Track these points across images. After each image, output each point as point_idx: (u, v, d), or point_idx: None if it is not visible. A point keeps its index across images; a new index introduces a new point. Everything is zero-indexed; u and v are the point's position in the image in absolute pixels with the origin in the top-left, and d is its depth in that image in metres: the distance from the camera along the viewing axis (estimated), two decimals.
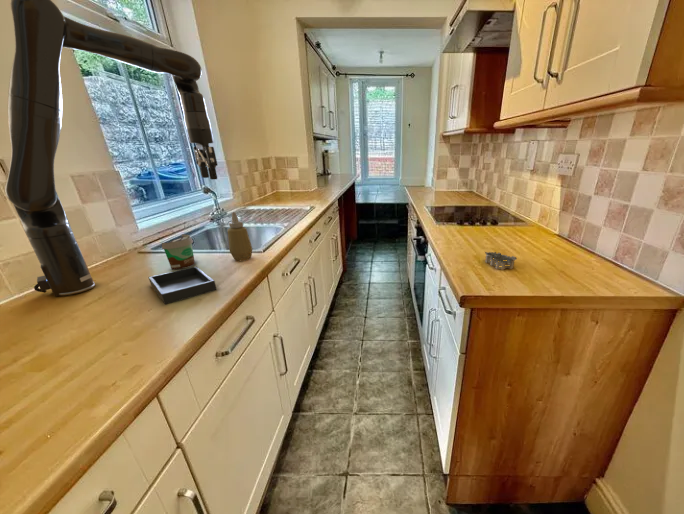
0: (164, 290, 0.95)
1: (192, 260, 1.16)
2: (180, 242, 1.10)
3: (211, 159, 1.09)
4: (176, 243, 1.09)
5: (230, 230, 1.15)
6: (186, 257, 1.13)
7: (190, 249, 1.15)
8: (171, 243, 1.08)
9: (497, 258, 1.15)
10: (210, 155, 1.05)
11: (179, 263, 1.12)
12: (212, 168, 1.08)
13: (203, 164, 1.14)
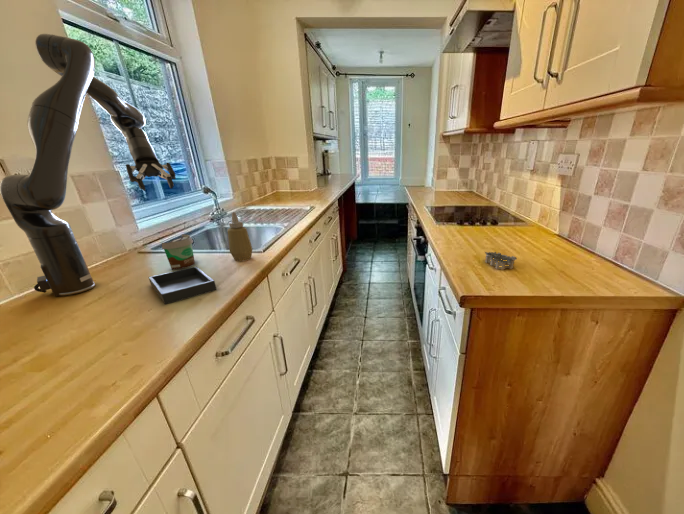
0: (164, 290, 0.95)
1: (192, 260, 1.16)
2: (180, 242, 1.10)
3: None
4: (176, 243, 1.09)
5: (230, 230, 1.15)
6: (186, 257, 1.13)
7: (190, 249, 1.15)
8: (171, 243, 1.08)
9: (497, 258, 1.15)
10: None
11: (179, 263, 1.12)
12: (171, 179, 1.20)
13: None
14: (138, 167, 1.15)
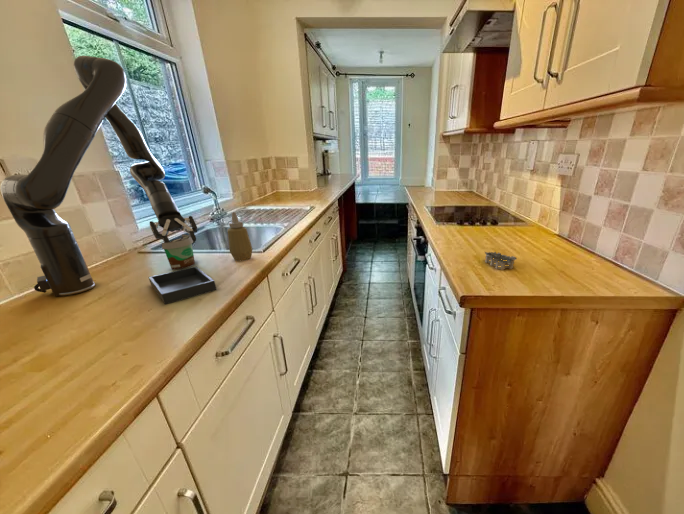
0: (164, 290, 0.95)
1: (192, 260, 1.16)
2: (180, 242, 1.10)
3: None
4: (176, 243, 1.09)
5: (230, 230, 1.15)
6: (186, 257, 1.13)
7: (190, 249, 1.15)
8: (171, 243, 1.08)
9: (497, 258, 1.15)
10: None
11: (179, 263, 1.12)
12: None
13: None
14: (161, 223, 1.13)
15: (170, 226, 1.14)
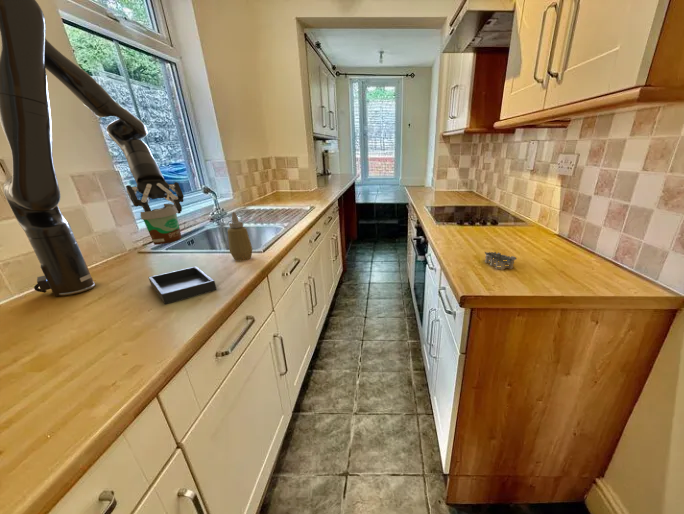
0: (164, 290, 0.95)
1: (178, 234, 0.98)
2: (163, 211, 0.92)
3: None
4: (158, 212, 0.91)
5: (230, 230, 1.15)
6: (171, 230, 0.96)
7: (175, 220, 0.97)
8: (152, 212, 0.90)
9: (497, 258, 1.15)
10: None
11: (163, 236, 0.95)
12: (178, 202, 1.01)
13: None
14: (141, 188, 0.96)
15: (151, 192, 0.97)
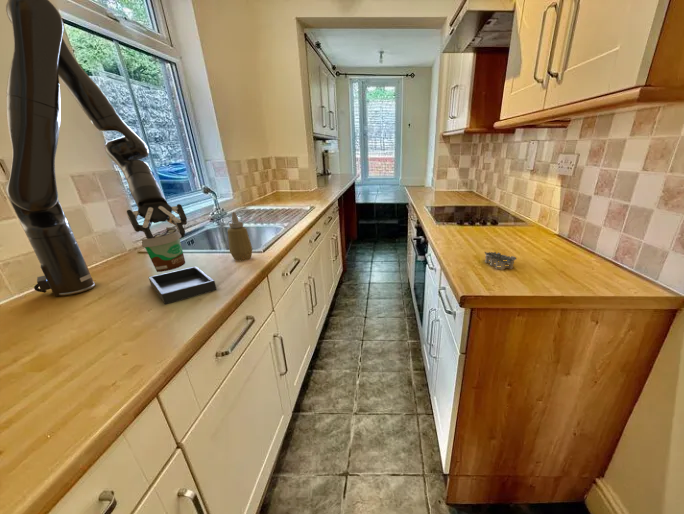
0: (164, 290, 0.95)
1: (182, 259, 0.94)
2: (165, 237, 0.87)
3: None
4: (160, 239, 0.86)
5: (230, 230, 1.15)
6: (174, 256, 0.91)
7: (179, 246, 0.92)
8: (154, 239, 0.86)
9: (497, 258, 1.15)
10: None
11: (166, 263, 0.90)
12: (181, 225, 0.96)
13: None
14: (142, 212, 0.91)
15: (153, 216, 0.92)
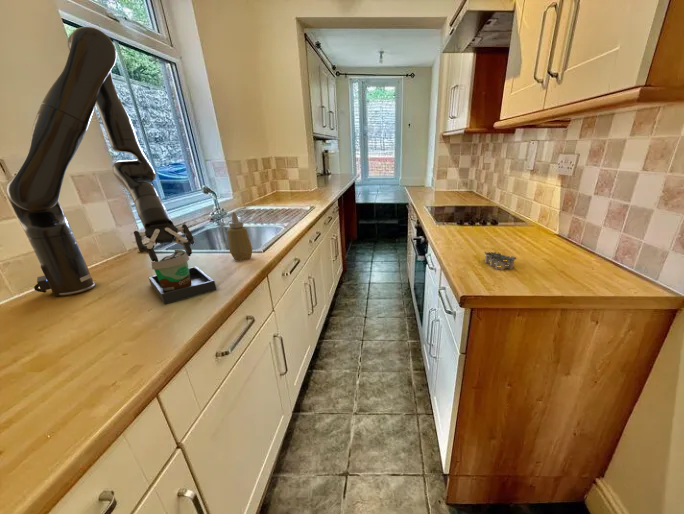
0: None
1: (188, 280, 0.97)
2: (174, 260, 0.91)
3: None
4: (169, 262, 0.90)
5: (230, 230, 1.15)
6: (181, 277, 0.94)
7: (186, 268, 0.95)
8: (163, 262, 0.89)
9: (497, 258, 1.15)
10: None
11: (173, 285, 0.93)
12: (188, 244, 0.99)
13: None
14: (149, 233, 0.94)
15: (159, 237, 0.94)
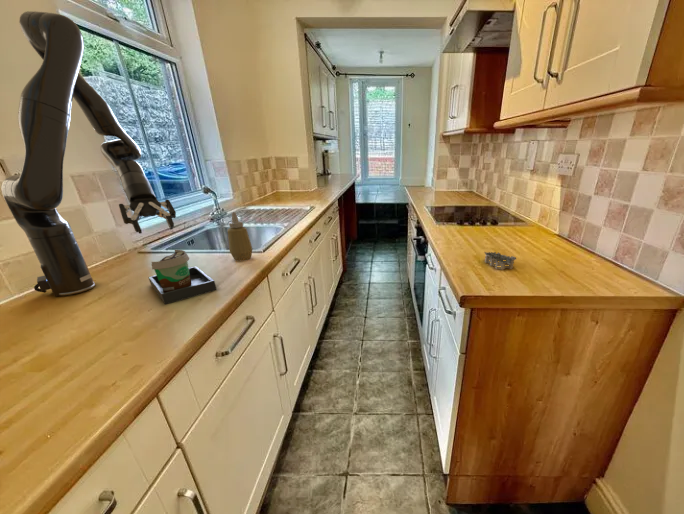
0: None
1: (188, 280, 0.97)
2: (174, 260, 0.91)
3: None
4: (169, 262, 0.90)
5: (230, 230, 1.15)
6: (181, 278, 0.94)
7: (186, 268, 0.95)
8: (163, 262, 0.89)
9: (497, 258, 1.15)
10: None
11: (173, 285, 0.93)
12: None
13: None
14: (133, 206, 1.01)
15: (143, 210, 1.01)
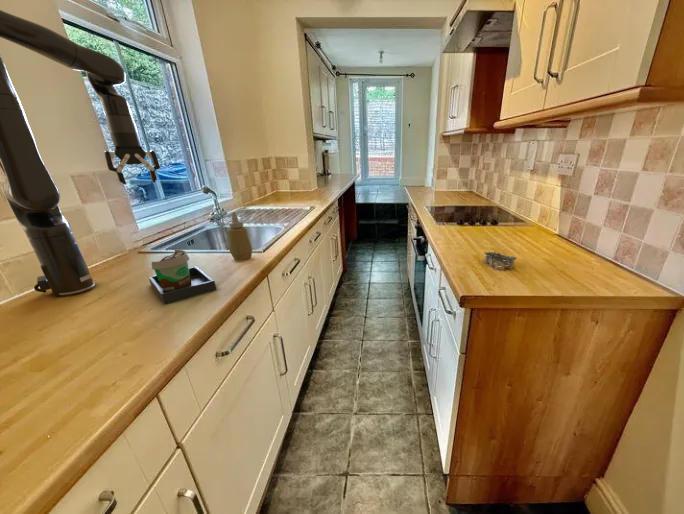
0: None
1: (188, 280, 0.97)
2: (174, 260, 0.91)
3: None
4: (169, 262, 0.90)
5: (230, 230, 1.15)
6: (181, 278, 0.94)
7: (186, 268, 0.95)
8: (163, 262, 0.89)
9: (496, 258, 1.15)
10: (156, 158, 1.12)
11: (173, 285, 0.93)
12: None
13: None
14: (119, 156, 1.04)
15: (128, 162, 1.07)
